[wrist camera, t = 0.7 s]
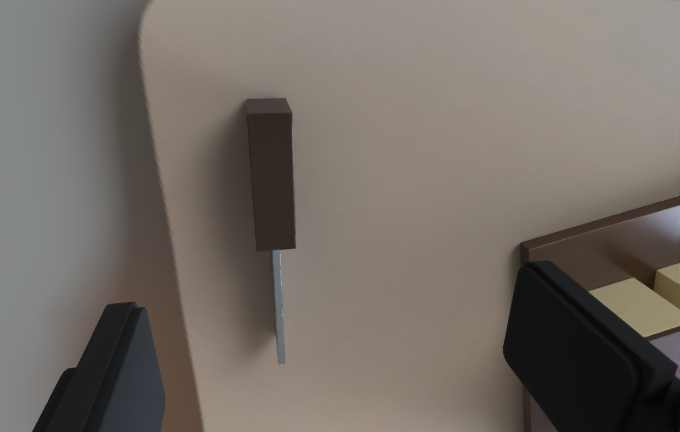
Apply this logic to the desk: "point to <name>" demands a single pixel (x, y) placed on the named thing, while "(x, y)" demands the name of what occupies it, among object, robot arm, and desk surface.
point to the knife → (273, 190)
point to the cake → (649, 309)
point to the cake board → (608, 260)
